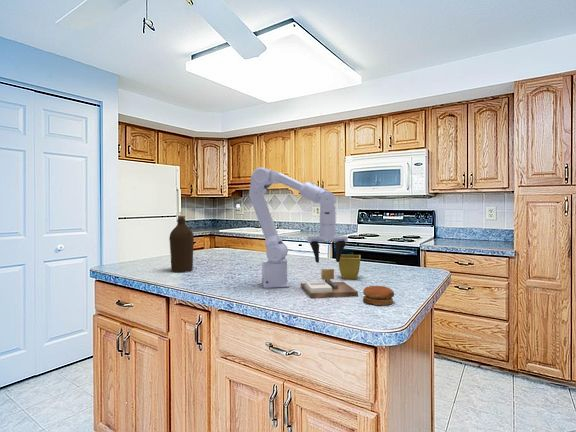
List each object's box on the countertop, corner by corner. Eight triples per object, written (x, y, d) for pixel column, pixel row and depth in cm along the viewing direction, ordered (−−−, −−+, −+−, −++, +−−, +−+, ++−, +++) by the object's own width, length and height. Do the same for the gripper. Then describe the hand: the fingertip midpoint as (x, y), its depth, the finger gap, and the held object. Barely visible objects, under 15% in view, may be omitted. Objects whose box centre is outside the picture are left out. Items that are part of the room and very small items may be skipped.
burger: (386, 308, 105) (386, 292, 105) (357, 303, 110) (357, 288, 110) (398, 300, 113) (398, 286, 113) (370, 296, 118) (370, 282, 118)
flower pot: (360, 280, 142) (360, 258, 141) (338, 279, 143) (338, 257, 143) (360, 276, 150) (360, 254, 150) (339, 275, 152) (339, 254, 152)
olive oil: (196, 268, 169) (196, 215, 168) (189, 273, 158) (189, 216, 157) (174, 268, 169) (174, 215, 168) (166, 272, 158) (165, 216, 158)
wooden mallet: (330, 289, 121) (330, 274, 121) (320, 282, 131) (320, 269, 130) (342, 288, 122) (342, 273, 122) (332, 282, 132) (332, 268, 131)
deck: (310, 298, 115) (310, 293, 115) (301, 287, 130) (301, 283, 130) (357, 296, 118) (357, 291, 118) (343, 285, 133) (343, 281, 133)
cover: (311, 292, 116) (311, 287, 116) (304, 285, 126) (304, 280, 126) (332, 291, 117) (332, 286, 117) (324, 285, 127) (324, 279, 127)
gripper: (343, 223, 134) (343, 259, 135) (305, 224, 132) (305, 260, 133) (349, 224, 128) (349, 262, 128) (309, 225, 125) (309, 263, 126)
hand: (327, 261), depth 130 cm, fingers open, 7 cm apart
